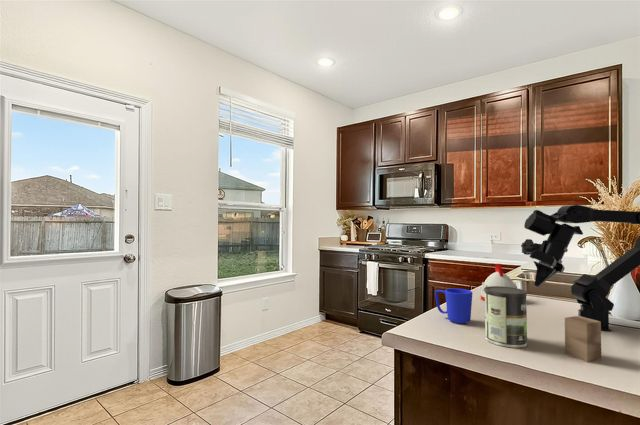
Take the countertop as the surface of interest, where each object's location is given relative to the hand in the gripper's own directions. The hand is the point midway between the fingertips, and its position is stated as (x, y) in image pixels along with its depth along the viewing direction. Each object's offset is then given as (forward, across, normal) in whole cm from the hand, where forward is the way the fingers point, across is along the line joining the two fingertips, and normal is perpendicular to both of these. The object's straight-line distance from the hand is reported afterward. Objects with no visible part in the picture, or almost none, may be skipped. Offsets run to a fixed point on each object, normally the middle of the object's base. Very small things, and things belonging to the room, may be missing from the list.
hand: (536, 286), depth 105 cm
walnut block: (+11, +17, +19) cm, 28 cm away
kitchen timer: (+12, -28, -15) cm, 33 cm away
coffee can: (+18, +19, +3) cm, 26 cm away
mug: (+22, +11, -14) cm, 28 cm away
